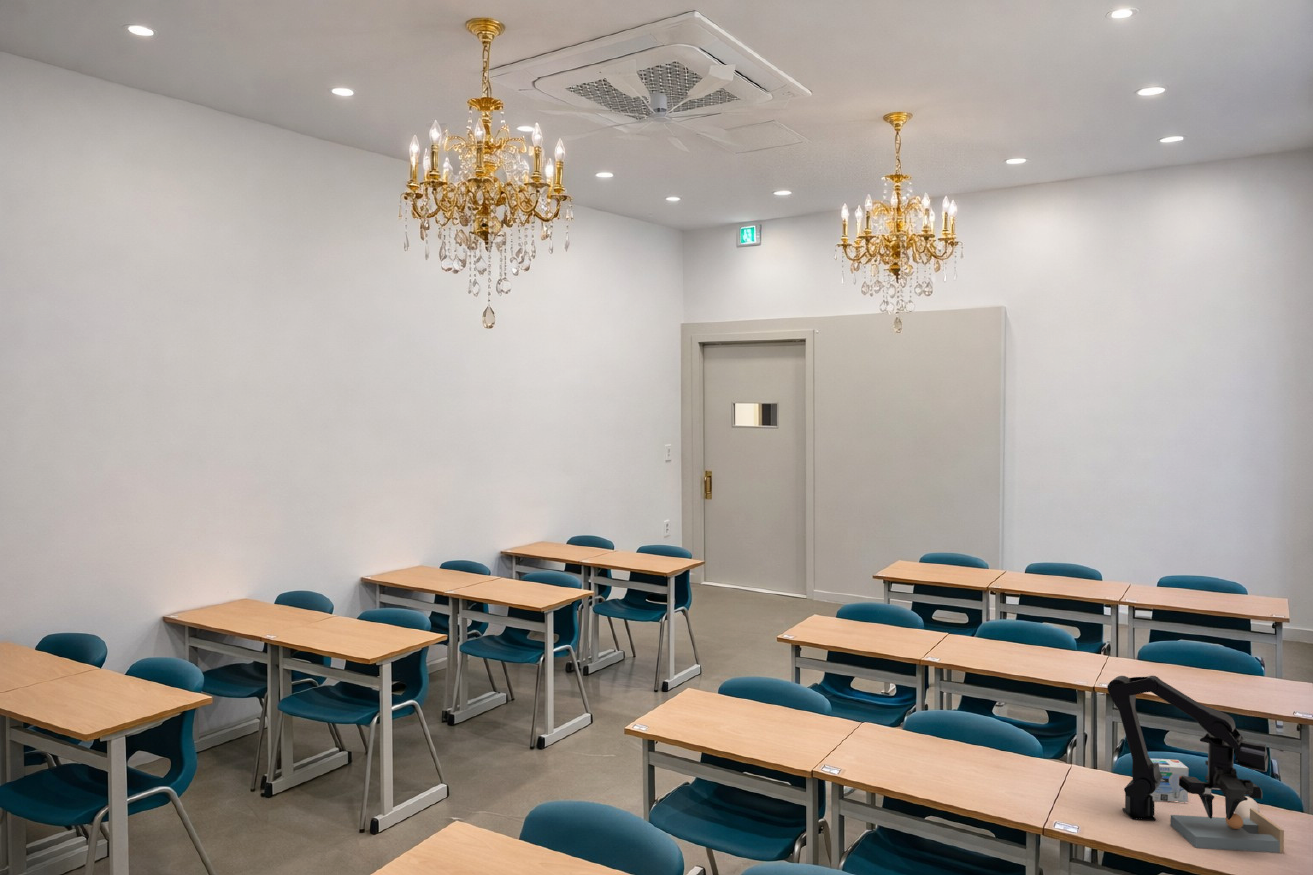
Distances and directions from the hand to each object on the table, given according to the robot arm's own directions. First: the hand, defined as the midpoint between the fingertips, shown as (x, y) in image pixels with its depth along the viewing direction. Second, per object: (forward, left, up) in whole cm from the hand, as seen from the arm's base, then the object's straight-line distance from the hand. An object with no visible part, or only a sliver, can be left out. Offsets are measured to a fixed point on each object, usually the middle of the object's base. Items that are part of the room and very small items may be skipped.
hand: (1219, 818), depth 227 cm
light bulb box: (-1, +26, -6) cm, 27 cm away
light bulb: (+14, +12, -6) cm, 19 cm away
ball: (+4, 0, -1) cm, 4 cm away
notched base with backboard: (+2, 0, -6) cm, 6 cm away
